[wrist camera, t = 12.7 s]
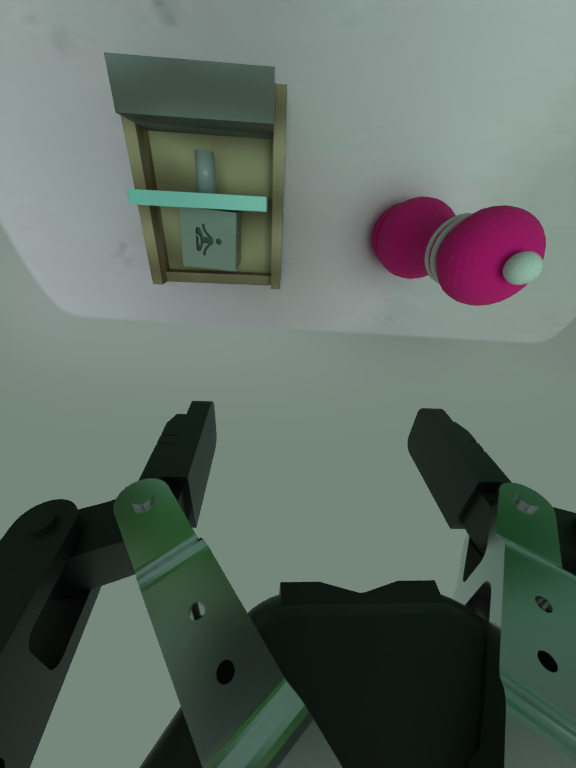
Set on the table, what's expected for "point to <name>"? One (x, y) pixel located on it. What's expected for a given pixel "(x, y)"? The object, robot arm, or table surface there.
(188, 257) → the dice cube
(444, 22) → the table surface
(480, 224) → the pepper mill
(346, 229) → the table surface
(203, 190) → the bar
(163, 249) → the pusher lane
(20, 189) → the table surface
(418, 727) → the robot arm
